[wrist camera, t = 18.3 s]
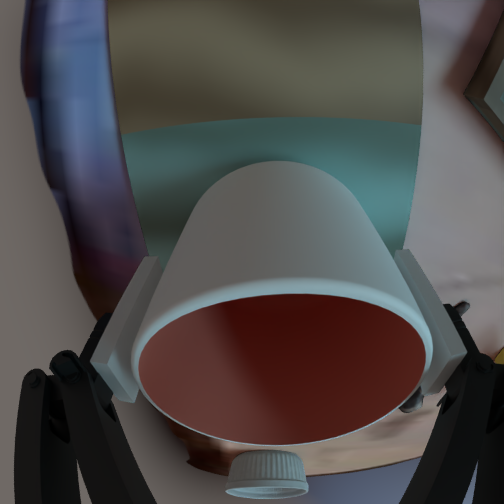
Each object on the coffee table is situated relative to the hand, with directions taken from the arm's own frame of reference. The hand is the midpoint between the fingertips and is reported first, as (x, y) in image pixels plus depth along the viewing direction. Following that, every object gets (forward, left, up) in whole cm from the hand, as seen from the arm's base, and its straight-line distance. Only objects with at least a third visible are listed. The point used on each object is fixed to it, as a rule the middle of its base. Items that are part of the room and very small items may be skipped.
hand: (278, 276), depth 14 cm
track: (-12, -7, -4) cm, 14 cm away
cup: (0, 0, -4) cm, 4 cm away
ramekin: (+37, +20, -4) cm, 43 cm away
